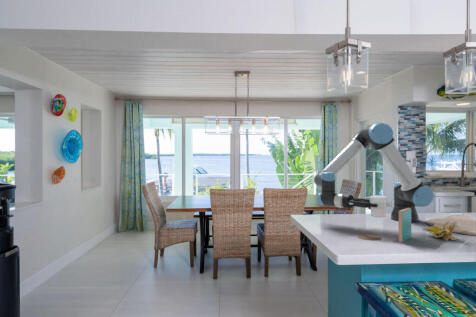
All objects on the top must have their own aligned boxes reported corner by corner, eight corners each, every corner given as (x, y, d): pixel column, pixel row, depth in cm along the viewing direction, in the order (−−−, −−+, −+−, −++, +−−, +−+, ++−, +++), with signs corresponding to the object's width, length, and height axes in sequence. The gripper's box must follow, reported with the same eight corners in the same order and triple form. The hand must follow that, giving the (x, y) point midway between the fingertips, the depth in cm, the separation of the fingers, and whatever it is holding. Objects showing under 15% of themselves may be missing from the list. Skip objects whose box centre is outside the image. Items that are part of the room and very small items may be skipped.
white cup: (377, 218, 153) (376, 197, 153) (366, 215, 161) (366, 195, 161) (390, 217, 155) (390, 196, 155) (379, 214, 163) (378, 195, 163)
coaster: (362, 233, 158) (362, 232, 157) (384, 237, 150) (384, 236, 150) (351, 237, 150) (351, 236, 150) (375, 242, 142) (375, 241, 142)
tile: (407, 237, 149) (407, 207, 149) (411, 237, 148) (411, 208, 148) (398, 242, 141) (398, 210, 141) (402, 242, 140) (402, 211, 140)
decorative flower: (417, 230, 158) (423, 211, 157) (441, 236, 156) (447, 217, 155) (431, 240, 143) (438, 219, 142) (457, 246, 142) (464, 225, 140)
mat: (404, 236, 153) (404, 235, 153) (445, 242, 141) (445, 241, 141) (392, 242, 142) (392, 241, 142) (435, 250, 130) (435, 249, 130)
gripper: (353, 205, 178) (395, 210, 162) (335, 210, 164) (379, 215, 147) (353, 192, 178) (395, 195, 162) (335, 196, 164) (379, 199, 147)
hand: (388, 205), depth 155 cm, fingers closed on white cup, 7 cm apart
